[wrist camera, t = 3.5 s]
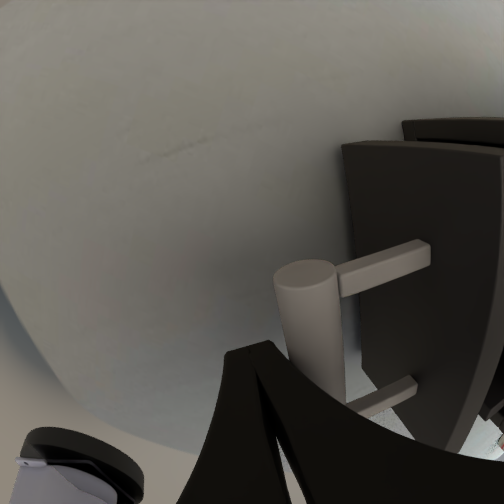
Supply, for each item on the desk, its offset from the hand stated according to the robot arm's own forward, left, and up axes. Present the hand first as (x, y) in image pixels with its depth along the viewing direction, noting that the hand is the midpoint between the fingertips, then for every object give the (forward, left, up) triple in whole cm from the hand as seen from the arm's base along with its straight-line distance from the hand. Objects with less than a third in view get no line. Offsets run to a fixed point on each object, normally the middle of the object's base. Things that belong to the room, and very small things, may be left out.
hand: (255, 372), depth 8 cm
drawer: (+9, 0, -4) cm, 10 cm away
